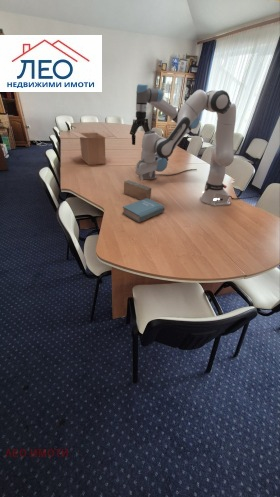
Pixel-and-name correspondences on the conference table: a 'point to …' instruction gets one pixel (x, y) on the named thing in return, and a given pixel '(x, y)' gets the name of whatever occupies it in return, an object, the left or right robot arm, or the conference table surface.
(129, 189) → the bar
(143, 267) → the conference table surface
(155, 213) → the book
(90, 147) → the box
